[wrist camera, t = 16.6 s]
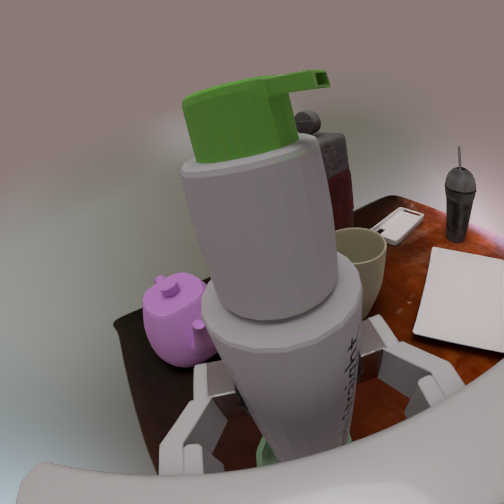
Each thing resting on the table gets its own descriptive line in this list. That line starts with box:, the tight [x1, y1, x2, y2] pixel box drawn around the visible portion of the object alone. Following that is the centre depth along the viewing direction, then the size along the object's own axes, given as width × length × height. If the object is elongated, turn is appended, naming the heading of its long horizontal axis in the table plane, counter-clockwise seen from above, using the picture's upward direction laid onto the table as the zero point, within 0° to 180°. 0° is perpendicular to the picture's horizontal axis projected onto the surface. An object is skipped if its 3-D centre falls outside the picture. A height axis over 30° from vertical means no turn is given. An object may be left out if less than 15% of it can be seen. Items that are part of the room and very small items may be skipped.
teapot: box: [143, 273, 218, 367], centre depth 40 cm, size 20×13×12 cm, turn 36°
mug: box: [335, 228, 387, 319], centre depth 39 cm, size 11×10×12 cm
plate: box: [413, 247, 504, 353], centre depth 33 cm, size 22×22×2 cm
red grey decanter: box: [294, 110, 354, 231], centre depth 50 cm, size 9×11×28 cm
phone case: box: [370, 207, 424, 246], centre depth 58 cm, size 7×1×15 cm
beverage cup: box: [445, 147, 476, 243], centre depth 44 cm, size 7×7×20 cm
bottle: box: [180, 70, 363, 463], centre depth 10 cm, size 4×4×20 cm
